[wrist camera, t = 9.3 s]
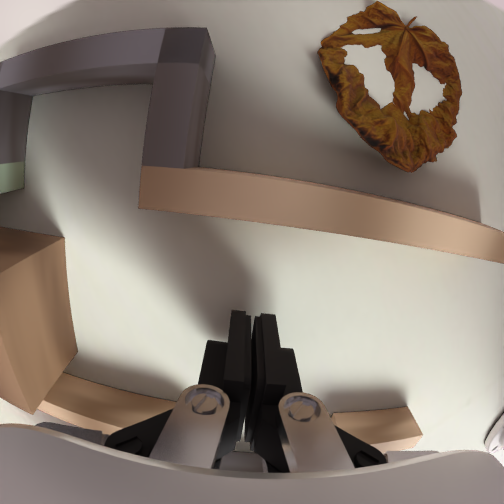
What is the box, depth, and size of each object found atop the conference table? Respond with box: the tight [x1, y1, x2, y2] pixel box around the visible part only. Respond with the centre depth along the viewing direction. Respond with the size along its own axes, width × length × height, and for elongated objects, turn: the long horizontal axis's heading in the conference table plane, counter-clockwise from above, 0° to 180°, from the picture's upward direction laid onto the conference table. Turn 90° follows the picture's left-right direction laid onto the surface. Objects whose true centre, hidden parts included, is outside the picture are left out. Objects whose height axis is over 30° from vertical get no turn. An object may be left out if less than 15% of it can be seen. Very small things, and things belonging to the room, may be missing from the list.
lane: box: [0, 27, 504, 473], centre depth 10 cm, size 26×21×2 cm
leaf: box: [317, 1, 462, 173], centre depth 8 cm, size 6×7×2 cm
